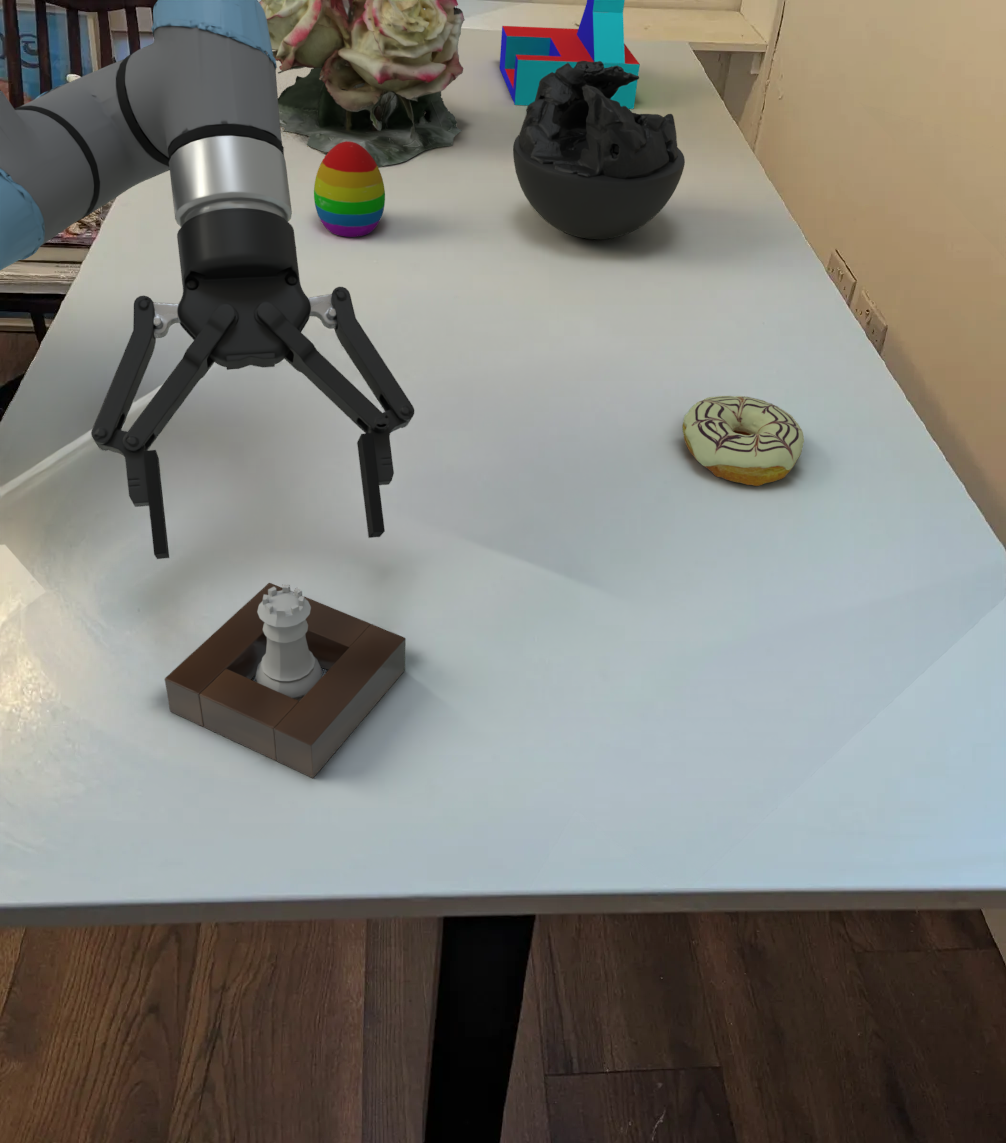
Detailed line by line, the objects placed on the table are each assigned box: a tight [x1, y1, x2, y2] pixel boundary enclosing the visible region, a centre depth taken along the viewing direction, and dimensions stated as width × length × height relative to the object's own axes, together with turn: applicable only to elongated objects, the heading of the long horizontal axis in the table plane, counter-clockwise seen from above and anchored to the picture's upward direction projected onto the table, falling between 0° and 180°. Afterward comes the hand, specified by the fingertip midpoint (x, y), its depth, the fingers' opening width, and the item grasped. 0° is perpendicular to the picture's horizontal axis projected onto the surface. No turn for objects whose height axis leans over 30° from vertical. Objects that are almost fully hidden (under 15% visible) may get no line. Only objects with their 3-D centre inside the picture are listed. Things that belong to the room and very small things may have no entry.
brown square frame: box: [164, 582, 407, 779], centre depth 73 cm, size 11×11×3 cm
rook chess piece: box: [254, 584, 323, 701], centre depth 72 cm, size 4×4×8 cm
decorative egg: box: [313, 141, 386, 238], centre depth 130 cm, size 8×8×10 cm
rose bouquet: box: [258, 0, 466, 168], centre depth 149 cm, size 26×29×30 cm
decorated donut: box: [681, 395, 805, 487], centre depth 99 cm, size 10×11×4 cm
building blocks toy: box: [499, 0, 641, 110], centre depth 178 cm, size 19×25×18 cm
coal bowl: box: [512, 61, 686, 240], centre depth 131 cm, size 20×20×19 cm
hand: (271, 546), depth 72 cm, fingers open, 13 cm apart
